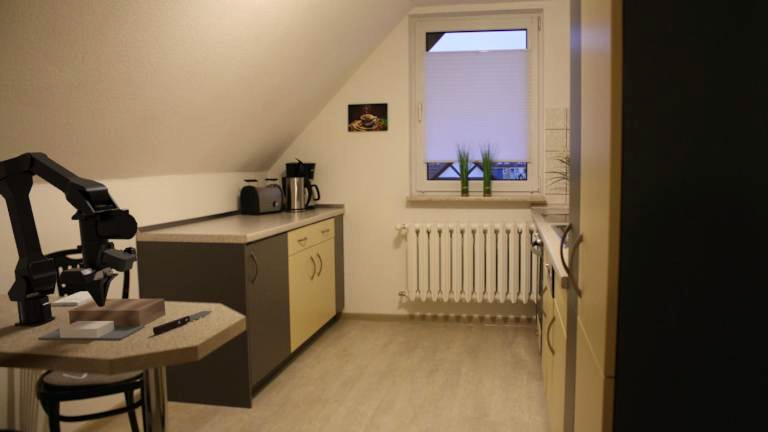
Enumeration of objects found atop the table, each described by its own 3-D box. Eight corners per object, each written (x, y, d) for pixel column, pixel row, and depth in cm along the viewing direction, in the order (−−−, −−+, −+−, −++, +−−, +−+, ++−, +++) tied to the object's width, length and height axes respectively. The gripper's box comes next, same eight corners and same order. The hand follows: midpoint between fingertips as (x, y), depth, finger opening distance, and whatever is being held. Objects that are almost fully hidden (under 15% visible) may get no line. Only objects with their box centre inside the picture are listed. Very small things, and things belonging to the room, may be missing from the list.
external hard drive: (105, 296, 179) (78, 307, 167) (79, 296, 180) (50, 308, 168) (104, 290, 179) (77, 301, 167) (78, 291, 180) (49, 302, 168)
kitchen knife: (156, 336, 134) (155, 327, 134) (152, 336, 135) (152, 327, 134) (213, 314, 150) (213, 306, 150) (210, 314, 151) (210, 306, 150)
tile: (77, 321, 140) (78, 329, 141) (59, 328, 135) (60, 337, 135) (113, 321, 139) (114, 329, 139) (96, 328, 133) (97, 337, 133)
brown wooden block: (70, 327, 144) (68, 310, 144) (99, 314, 155) (98, 299, 155) (140, 327, 141) (138, 310, 141) (165, 314, 152) (164, 298, 152)
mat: (38, 339, 136) (38, 337, 136) (66, 327, 145) (66, 325, 145) (121, 339, 132) (120, 337, 132) (144, 327, 141) (144, 325, 141)
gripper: (100, 245, 130) (108, 317, 131) (149, 232, 148) (155, 296, 150) (53, 246, 132) (61, 317, 133) (107, 233, 150) (113, 296, 152)
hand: (101, 306), depth 142 cm, fingers closed
